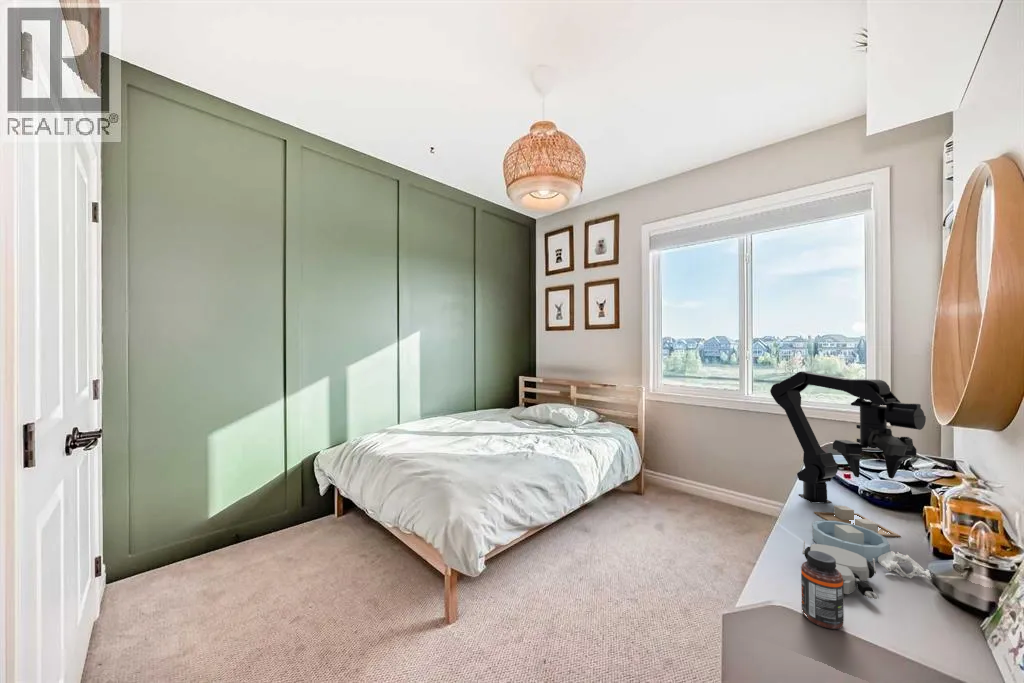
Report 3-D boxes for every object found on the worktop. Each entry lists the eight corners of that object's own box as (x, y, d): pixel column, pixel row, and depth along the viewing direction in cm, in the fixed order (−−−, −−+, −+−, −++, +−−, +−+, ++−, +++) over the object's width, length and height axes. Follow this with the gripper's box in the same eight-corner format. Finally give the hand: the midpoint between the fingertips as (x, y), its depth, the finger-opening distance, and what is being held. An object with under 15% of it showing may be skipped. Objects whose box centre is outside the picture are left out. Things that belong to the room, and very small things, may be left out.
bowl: (800, 533, 104) (800, 519, 104) (856, 535, 103) (856, 521, 103) (840, 561, 90) (839, 545, 90) (905, 564, 89) (905, 548, 89)
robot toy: (881, 615, 73) (874, 574, 85) (881, 592, 73) (874, 554, 84) (800, 590, 81) (803, 555, 92) (799, 568, 81) (803, 536, 92)
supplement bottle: (802, 604, 75) (802, 544, 75) (843, 617, 71) (842, 554, 71) (800, 620, 70) (799, 556, 70) (844, 636, 66) (843, 568, 67)
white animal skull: (882, 558, 85) (874, 543, 90) (882, 577, 85) (874, 561, 90) (935, 569, 80) (923, 552, 86) (935, 589, 81) (922, 571, 86)
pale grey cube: (854, 529, 106) (854, 518, 106) (868, 529, 105) (868, 519, 106) (863, 534, 103) (863, 523, 103) (877, 534, 102) (877, 524, 103)
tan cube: (834, 515, 115) (834, 505, 115) (845, 515, 114) (845, 506, 114) (842, 519, 112) (842, 509, 112) (854, 520, 111) (854, 510, 111)
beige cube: (834, 540, 99) (834, 524, 99) (849, 541, 98) (849, 525, 99) (847, 549, 94) (847, 532, 94) (863, 550, 94) (863, 533, 94)
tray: (814, 514, 116) (814, 511, 116) (857, 516, 115) (857, 513, 115) (851, 536, 102) (851, 533, 102) (900, 539, 101) (900, 535, 101)
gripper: (861, 427, 106) (862, 486, 106) (935, 429, 105) (936, 488, 104) (831, 420, 117) (831, 473, 117) (898, 422, 116) (898, 475, 115)
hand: (873, 477), depth 113 cm, fingers open, 9 cm apart
